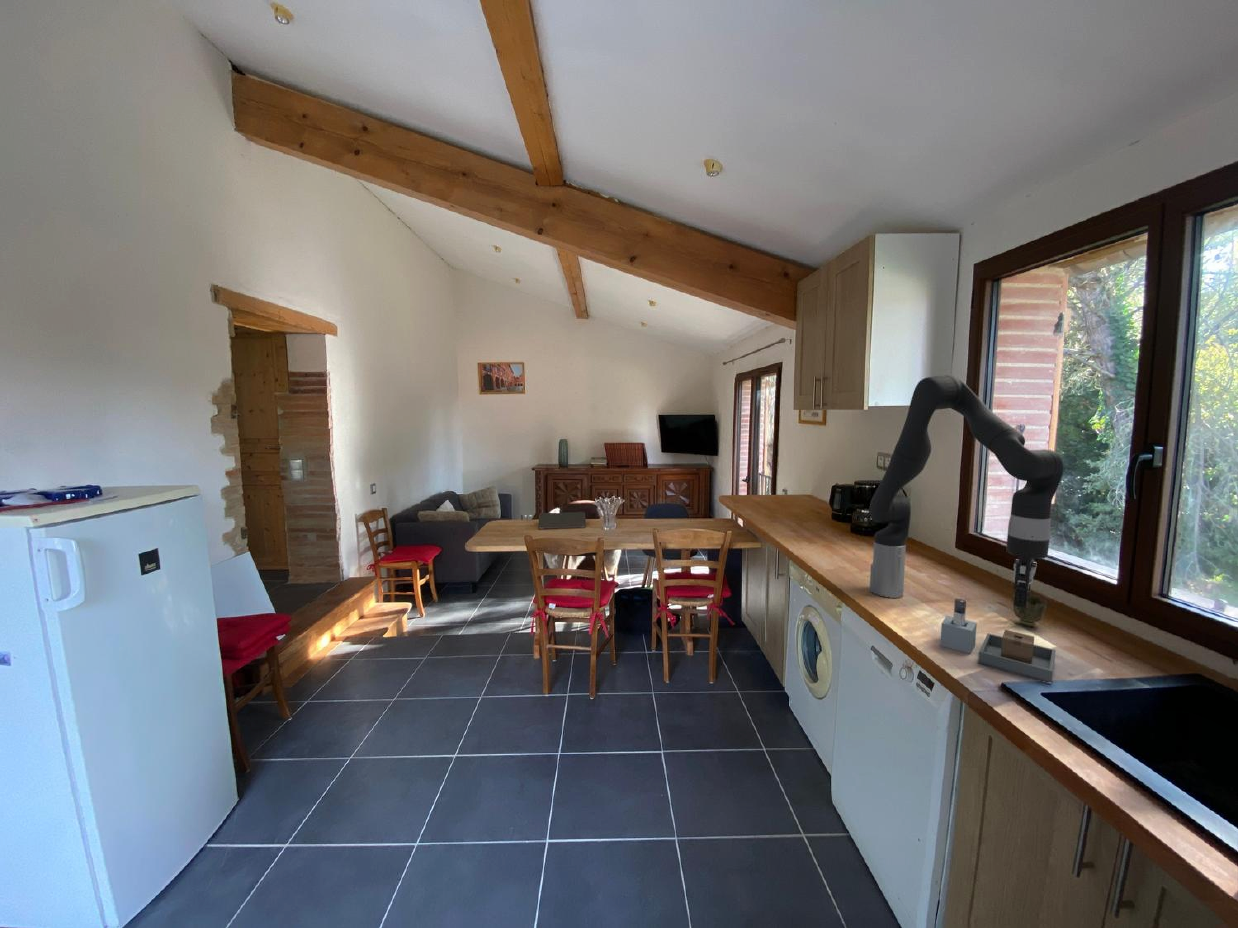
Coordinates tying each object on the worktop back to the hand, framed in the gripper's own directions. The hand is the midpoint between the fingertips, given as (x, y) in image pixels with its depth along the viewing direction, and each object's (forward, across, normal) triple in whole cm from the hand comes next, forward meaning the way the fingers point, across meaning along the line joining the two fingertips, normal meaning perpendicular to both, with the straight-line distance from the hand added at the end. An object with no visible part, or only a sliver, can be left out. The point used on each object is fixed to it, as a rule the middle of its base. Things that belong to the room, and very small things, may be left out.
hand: (1021, 600), depth 116 cm
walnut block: (+15, 0, 0) cm, 15 cm away
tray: (+15, 0, 0) cm, 15 cm away
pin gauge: (+16, +1, +12) cm, 20 cm away
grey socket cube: (+16, +1, +12) cm, 20 cm away
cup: (+16, +28, 0) cm, 32 cm away
